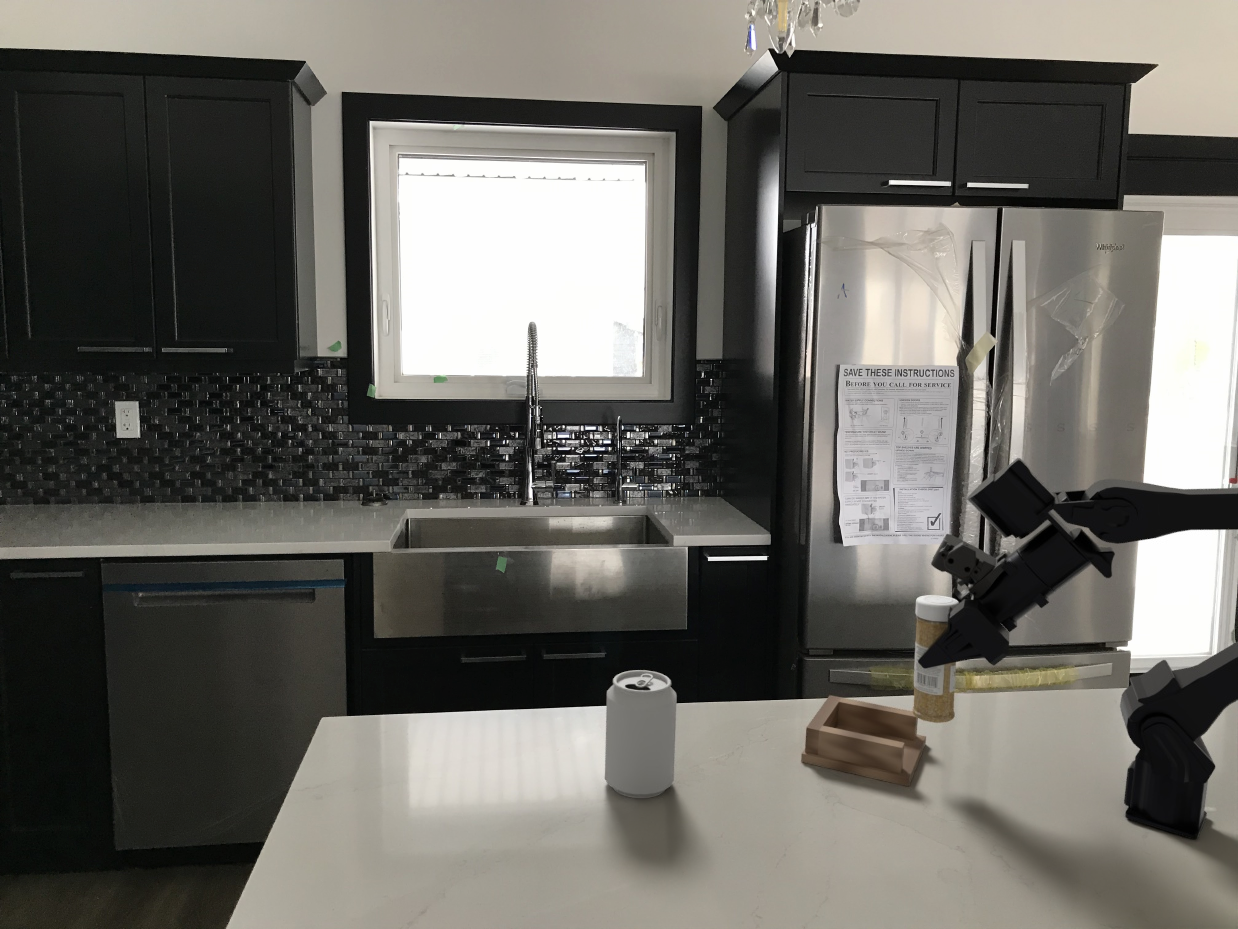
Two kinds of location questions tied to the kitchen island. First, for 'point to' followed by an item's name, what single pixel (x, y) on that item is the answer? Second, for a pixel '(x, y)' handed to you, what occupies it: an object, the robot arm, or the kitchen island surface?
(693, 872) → the kitchen island surface
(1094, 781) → the kitchen island surface
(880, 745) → the walnut cradle
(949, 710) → the sprinkles bottle
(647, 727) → the can
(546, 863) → the kitchen island surface
